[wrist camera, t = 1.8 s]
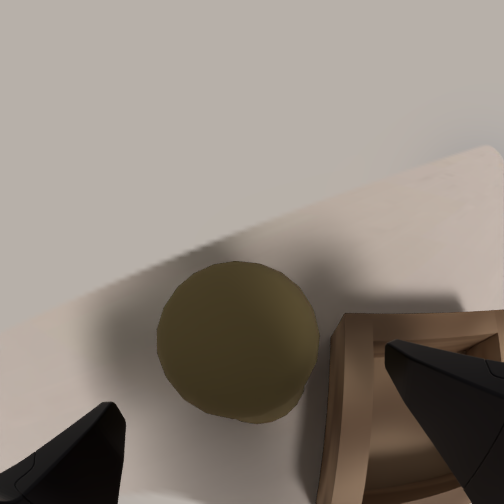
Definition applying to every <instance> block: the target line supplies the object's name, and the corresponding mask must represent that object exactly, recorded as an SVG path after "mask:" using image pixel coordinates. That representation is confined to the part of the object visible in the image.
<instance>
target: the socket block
mask: <svg viewBox="0 0 504 504" xmlns="http://www.w3.org/2000/svg"><path fill="white" fill-rule="evenodd" d="M395 339H399V340H403V341H407V342H411V343H415V344H420V345H424V346H428V347H432V348H437V349H441V350H445V351H450V352H455V353H459V354H464V355H469V356H473V357H478V358H483V359H489V360H494V361H499V362H504V310H491V311H474V312H453V313H417V314H366V313H345V314H344V315H343V317H342V319H341V321H340V322H339V324H338V326H337V328H336V329H335V331H334V333H333V334H332V336H331V340H330V369H329V388H328V403H327V416H326V427H325V438H324V447H323V456H322V464H321V471H320V478H319V485H318V492H317V498H316V504H470V503H471V501H470V500H469V498H468V496H467V495H466V493H465V492H464V490H463V488H462V487H461V485H460V484H459V482H458V481H457V479H456V477H455V476H454V474H453V473H452V471H451V470H450V468H449V467H448V465H447V464H446V462H445V461H444V459H443V458H442V456H441V455H440V454H439V452H438V451H437V449H436V448H435V446H434V445H433V443H432V442H431V440H430V439H429V437H428V436H427V435H426V433H425V432H424V430H423V429H422V427H421V426H420V425H419V423H418V422H417V420H416V419H415V417H414V416H413V415H412V413H411V412H410V410H409V409H408V408H407V406H406V405H405V403H404V401H403V400H402V398H401V396H400V394H399V392H398V391H397V389H396V387H395V385H394V383H393V381H392V380H391V378H390V376H389V374H388V372H387V371H386V368H385V364H384V359H385V345H386V343H387V342H390V341H392V340H395Z"/></svg>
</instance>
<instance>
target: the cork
mask: <svg viewBox="0 0 504 504" xmlns="http://www.w3.org/2000/svg"><path fill="white" fill-rule="evenodd" d="M319 338H320V335H319V331H318V326H317V322H316V318H315V314H314V311H313V308H312V306H311V305H310V303H309V301H308V300H307V298H306V297H305V295H304V294H303V292H302V290H301V289H300V287H299V286H297V285H296V284H295V283H294V282H292V281H291V280H290V279H289V278H288V277H286V276H285V275H284V274H283V273H281V272H279V271H277V270H274V269H272V268H269V267H267V266H264V265H262V264H257V263H248V262H239V261H233V262H226V263H220V264H214V265H212V266H209V267H207V268H205V269H203V270H201V271H198V272H196V273H194V274H193V275H192V276H190V277H189V278H188V279H187V280H186V281H184V282H183V283H182V284H181V285H180V286H178V287H177V289H176V290H175V292H174V293H173V295H172V296H171V298H170V299H169V301H168V302H167V304H166V305H165V307H164V308H163V311H162V315H161V318H160V321H159V324H158V328H157V354H158V356H159V359H160V362H161V365H162V368H163V370H164V373H165V376H166V377H167V379H168V380H169V382H170V383H171V384H172V385H173V387H174V388H175V389H176V390H177V392H178V393H179V394H180V395H181V396H182V398H183V399H184V400H186V401H187V402H189V403H191V404H192V405H194V406H195V407H197V408H199V409H200V410H202V411H204V412H205V413H208V414H212V415H217V416H221V417H226V418H231V419H237V420H239V421H241V422H247V423H253V424H261V423H268V422H273V421H275V420H277V419H279V418H281V417H283V416H285V415H287V414H288V413H289V412H290V411H291V410H292V409H293V408H294V407H295V406H296V405H297V403H298V401H299V399H300V398H301V396H302V394H303V392H304V385H305V384H306V382H307V380H308V378H309V376H310V374H311V372H312V370H313V368H314V366H315V364H316V362H317V356H318V347H319Z"/></svg>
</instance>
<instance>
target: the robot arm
mask: <svg viewBox="0 0 504 504" xmlns="http://www.w3.org/2000/svg"><path fill="white" fill-rule="evenodd" d="M384 364H385V368H386V371H387V372H388V374H389V376H390V378H391V380H392V381H393V383H394V385H395V387H396V389H397V391H398V392H399V394H400V396H401V398H402V400H403V401H404V403H405V405H406V406H407V408H408V409H409V410H410V412H411V413H412V415H413V416H414V417H415V419H416V420H417V422H418V423H419V425H420V426H421V427H422V429H423V430H424V432H425V433H426V435H427V436H428V437H429V439H430V440H431V442H432V443H433V445H434V446H435V448H436V449H437V451H438V452H439V454H440V455H441V456H442V458H443V459H444V461H445V462H446V464H447V465H448V467H449V468H450V470H451V471H452V473H453V474H454V476H455V477H456V479H457V481H458V482H459V484H460V485H461V487H462V488H463V490H464V492H465V493H466V495H467V496H468V498H469V500H470V501H471V503H472V504H504V362H499V361H494V360H489V359H483V358H478V357H473V356H469V355H464V354H459V353H455V352H450V351H445V350H441V349H437V348H432V347H428V346H424V345H420V344H415V343H411V342H407V341H403V340H399V339H395V340H392V341H390V342H387V343H386V345H385V359H384ZM125 432H126V422H125V419H124V417H123V415H122V414H121V412H120V411H119V409H118V407H117V406H116V404H115V403H114V402H102V403H101V404H99V405H98V406H97V407H95V408H94V409H93V410H91V411H90V412H89V413H87V414H86V415H85V416H83V417H82V418H81V419H79V420H78V421H77V422H75V423H74V424H73V425H71V426H70V427H69V428H67V429H66V430H64V431H63V432H62V433H60V434H59V435H58V436H56V437H55V438H53V439H52V440H51V441H49V442H48V443H46V444H45V445H44V446H42V447H41V448H39V449H38V450H37V451H36V452H34V453H32V454H31V455H30V456H28V457H27V458H25V459H24V460H22V461H21V462H19V463H17V464H16V465H14V466H12V467H11V468H9V469H7V470H5V471H4V472H2V473H0V504H118V496H119V489H120V482H121V475H122V469H123V462H124V448H125Z"/></svg>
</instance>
